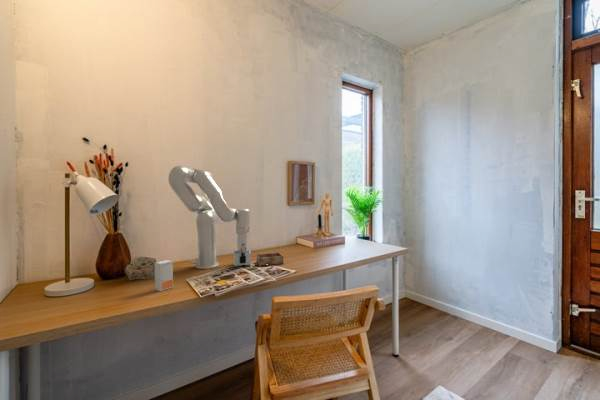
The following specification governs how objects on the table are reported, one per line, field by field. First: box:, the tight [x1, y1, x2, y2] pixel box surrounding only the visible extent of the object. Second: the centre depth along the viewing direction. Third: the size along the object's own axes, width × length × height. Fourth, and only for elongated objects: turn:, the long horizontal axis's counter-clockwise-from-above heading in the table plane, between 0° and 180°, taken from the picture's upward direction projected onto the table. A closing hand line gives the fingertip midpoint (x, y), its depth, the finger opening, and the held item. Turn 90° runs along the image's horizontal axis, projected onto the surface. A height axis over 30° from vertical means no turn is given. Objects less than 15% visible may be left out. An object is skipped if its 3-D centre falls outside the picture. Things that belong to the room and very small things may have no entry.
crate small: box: [233, 250, 252, 267], centre depth 156 cm, size 9×6×7 cm
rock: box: [124, 256, 157, 281], centre depth 140 cm, size 21×14×10 cm
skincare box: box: [154, 259, 174, 292], centre depth 120 cm, size 6×4×12 cm
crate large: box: [256, 252, 284, 266], centre depth 161 cm, size 14×10×4 cm
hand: (242, 261), depth 157 cm, fingers closed on crate small, 6 cm apart
